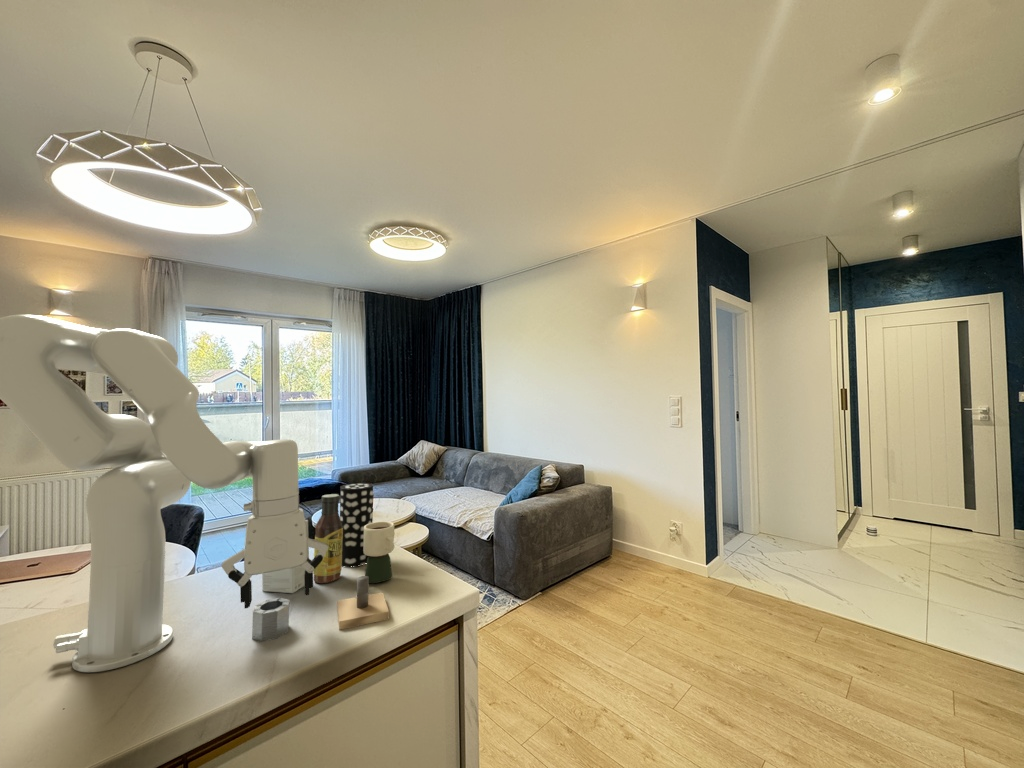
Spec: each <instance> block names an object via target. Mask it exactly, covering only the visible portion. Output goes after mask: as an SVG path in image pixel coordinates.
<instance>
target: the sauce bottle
mask: <svg viewBox="0 0 1024 768" xmlns="http://www.w3.org/2000/svg"><path fill="white" fill-rule="evenodd" d="M339 504H340V494H339V493H331V494H324V495H322V496H321V515H320V517H319V519H318V521H317V522H316V525H315V535H314V540H317V541H320V542H323V543H327V544H328V549H327V551H326V553H325V555H324V557H323V560H322V561H321V563H320V564H319V565H318V566H317V567H316V568H315V569H314V571H313V582H315V583H317V584H318V583H319V584H328V583H332V582H334V581H337V580H339V578H340V577H341V572H342V567H343V566H342V541H343V526H342V523H341V520H340V510H339ZM313 550H314V551H313V552H314V553H313V558H314V557H315V556H316V555H317V554H318V552H319V550H317V549H314V548H313Z"/></svg>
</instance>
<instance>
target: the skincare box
mask: <svg viewBox="0 0 1024 768" xmlns="http://www.w3.org/2000/svg"><path fill="white" fill-rule="evenodd" d="M305 521H306V528H307V538H309V520H308V519H305ZM309 549H310V547H308V558H309V559H310V551H309ZM304 574H305V569H304V568H303V567H301V566H299V567H295V568H291V569H286V570H280V571H275V572H270V573H264V574H261V576H262V577H261V578H262V580H261V581H262V592H271V593H273V592H274V593H286V594H287V593H288V594H294V593H296V592H297V591H299V590H300V589H302V588H305V578H304Z"/></svg>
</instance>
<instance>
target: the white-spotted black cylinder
mask: <svg viewBox="0 0 1024 768" xmlns="http://www.w3.org/2000/svg"><path fill="white" fill-rule="evenodd" d="M339 488H340V490H339V491H340V494H339V517H340V520H341V523H342V526H343V541H342V567H343V566H346V567H345V568H354V567H353V566H358V565H362V564H365V563H367V559H368V557H369V556H367V555H365V554H364V552H363V547H364V526H365V525H367V524H370V523H374V522H373V521H374V520H373V519H374V518H373V517H374V513H373V511H374V507H373V506H374V484H372V483H367V482H364V483H363V482H362V483H361V482H359V483H356V482H355V483H349V484H343V485H341V486H340V487H339ZM351 566H352V567H351ZM358 567H359V566H358Z"/></svg>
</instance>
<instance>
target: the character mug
mask: <svg viewBox="0 0 1024 768" xmlns="http://www.w3.org/2000/svg"><path fill="white" fill-rule="evenodd" d="M395 535H396V533H395V523H394V522H392V521H374V522H373V523H370V524H367V525H365V526H364V547H363V552H364V554H365V555H367V556H369V557H368V559H367V564H366V565H365V571H364V576H368V577H369V584H375V583H383V582H384V581H388V580H390V579H392V578H393V571H392V570H393V569H392V562H391V556H390V554H391V553H392V552H393V551H394V549H395V540H394V539H395ZM382 581H383V582H382Z"/></svg>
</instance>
